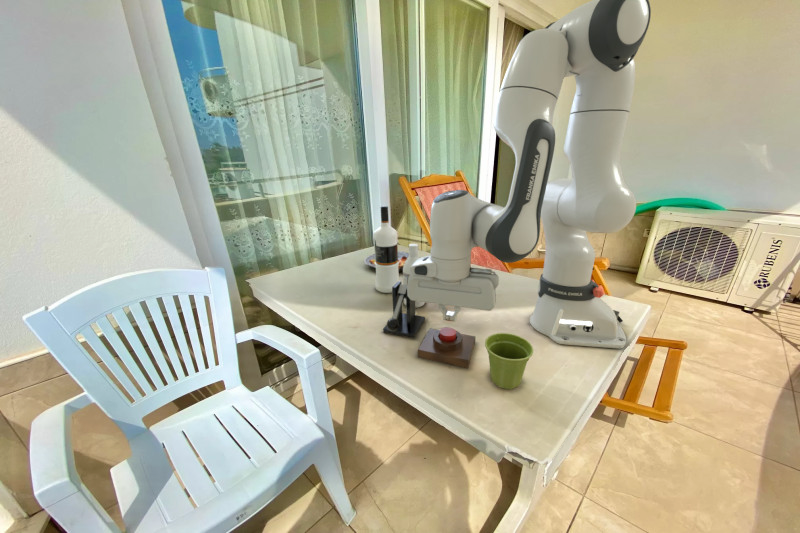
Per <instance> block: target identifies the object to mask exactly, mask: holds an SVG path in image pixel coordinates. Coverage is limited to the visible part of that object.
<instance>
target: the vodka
mask: <svg viewBox="0 0 800 533" xmlns="http://www.w3.org/2000/svg"><path fill="white" fill-rule="evenodd" d="M379 208H380V226H379V227H377V228H376V229H375V230H374V231H373V233H372V234H373V235H372V237H373V245H374V254H375V262H376V263H375V265H376V268H375V283H374V284H375V285H374V287H375V289H376V291H377V292H379V293H382V294H392V287H393V286H394V285H395V284H396V283H397V282H398V281H401V279H400V274H399V272H400V271H398V264H399V262H398V243H399V240H398V237H399V236H398V235H399V234H398V231H397V230H396V229H395V228H394V227H392V226H391V225H390V221H389V220H390V219H389V206H388V205H382V206H380V207H379Z"/></svg>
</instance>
